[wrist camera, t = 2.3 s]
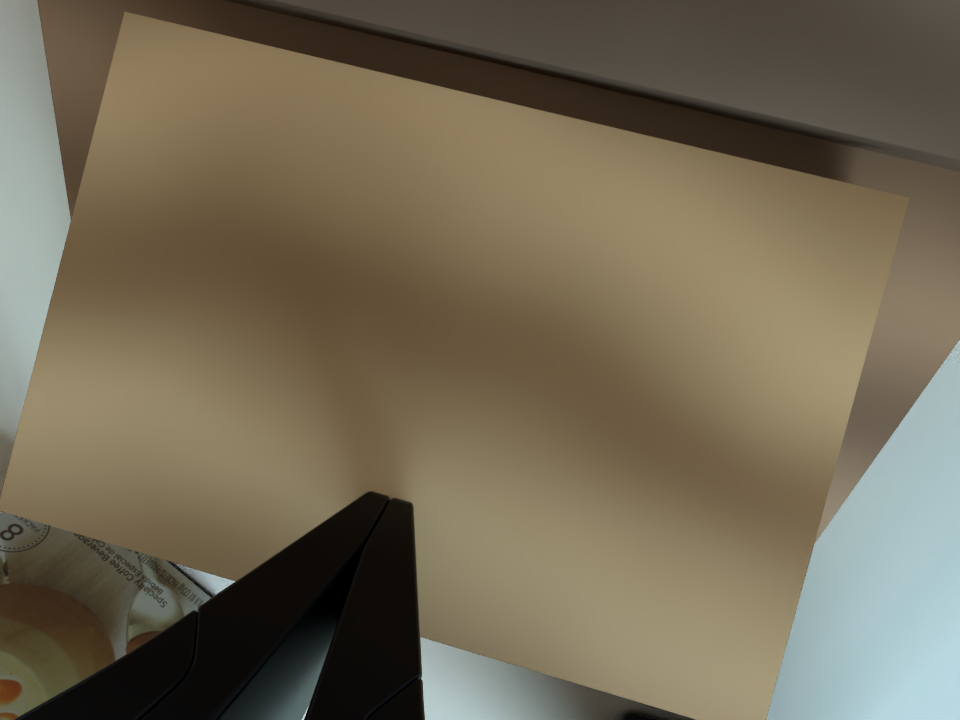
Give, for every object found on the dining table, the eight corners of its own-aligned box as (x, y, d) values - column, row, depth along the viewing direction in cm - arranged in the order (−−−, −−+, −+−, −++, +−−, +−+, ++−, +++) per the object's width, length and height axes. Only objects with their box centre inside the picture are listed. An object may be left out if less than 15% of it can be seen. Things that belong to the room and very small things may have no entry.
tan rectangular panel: (723, 683, 10) (760, 738, 9) (66, 489, 11) (-4, 509, 9) (850, 222, 10) (909, 197, 9) (176, 59, 11) (124, 11, 9)
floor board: (748, 572, 16) (790, 669, 13) (138, 400, 17) (50, 453, 14) (1104, 28, 10) (1349, -23, 7) (71, -193, 11) (-119, -322, 8)
